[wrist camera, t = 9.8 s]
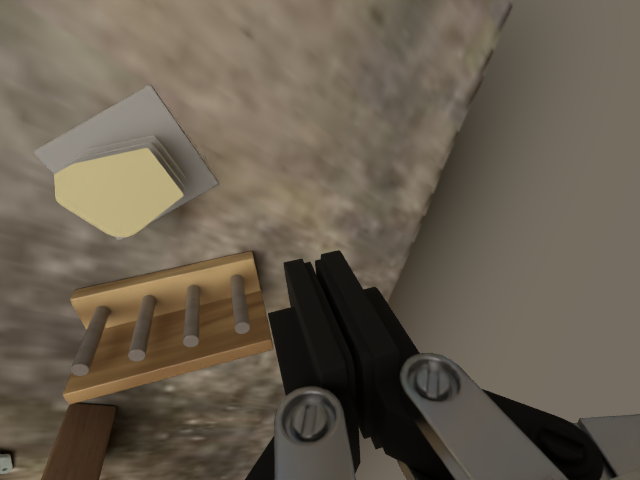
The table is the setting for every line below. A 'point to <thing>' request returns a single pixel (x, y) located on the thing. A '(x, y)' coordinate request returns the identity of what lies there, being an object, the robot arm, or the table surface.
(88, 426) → the wooden block
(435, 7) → the table surface
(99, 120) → the stacked layers on plate
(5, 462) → the metal bracket
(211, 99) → the table surface
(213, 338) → the peg rack
